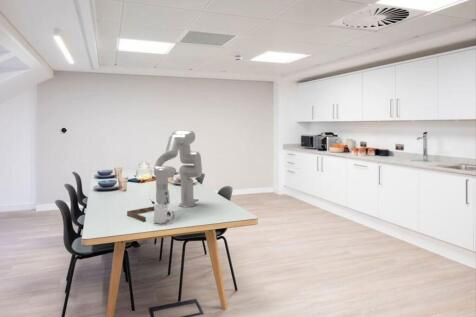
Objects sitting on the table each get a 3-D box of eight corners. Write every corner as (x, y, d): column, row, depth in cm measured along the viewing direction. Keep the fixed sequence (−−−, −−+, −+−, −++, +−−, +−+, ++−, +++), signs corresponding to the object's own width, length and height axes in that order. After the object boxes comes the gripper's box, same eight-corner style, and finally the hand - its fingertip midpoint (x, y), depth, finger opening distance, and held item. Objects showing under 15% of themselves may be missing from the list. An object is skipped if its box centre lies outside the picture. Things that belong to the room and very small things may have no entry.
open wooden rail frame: (155, 210, 270) (155, 206, 270) (173, 215, 252) (173, 211, 252) (127, 215, 255) (127, 211, 255) (144, 222, 237) (144, 217, 237)
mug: (173, 219, 240) (174, 205, 237) (170, 225, 232) (171, 210, 229) (155, 217, 240) (156, 202, 237) (152, 222, 232) (153, 208, 229)
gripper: (173, 187, 236) (173, 215, 238) (161, 184, 247) (161, 211, 249) (163, 188, 231) (163, 217, 233) (151, 186, 242) (152, 213, 244)
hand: (162, 214), depth 241 cm, fingers closed
